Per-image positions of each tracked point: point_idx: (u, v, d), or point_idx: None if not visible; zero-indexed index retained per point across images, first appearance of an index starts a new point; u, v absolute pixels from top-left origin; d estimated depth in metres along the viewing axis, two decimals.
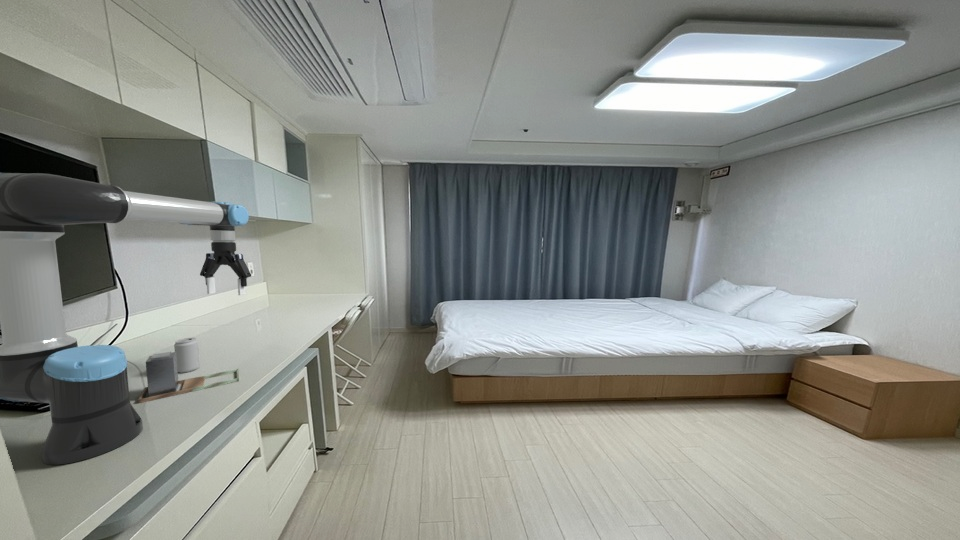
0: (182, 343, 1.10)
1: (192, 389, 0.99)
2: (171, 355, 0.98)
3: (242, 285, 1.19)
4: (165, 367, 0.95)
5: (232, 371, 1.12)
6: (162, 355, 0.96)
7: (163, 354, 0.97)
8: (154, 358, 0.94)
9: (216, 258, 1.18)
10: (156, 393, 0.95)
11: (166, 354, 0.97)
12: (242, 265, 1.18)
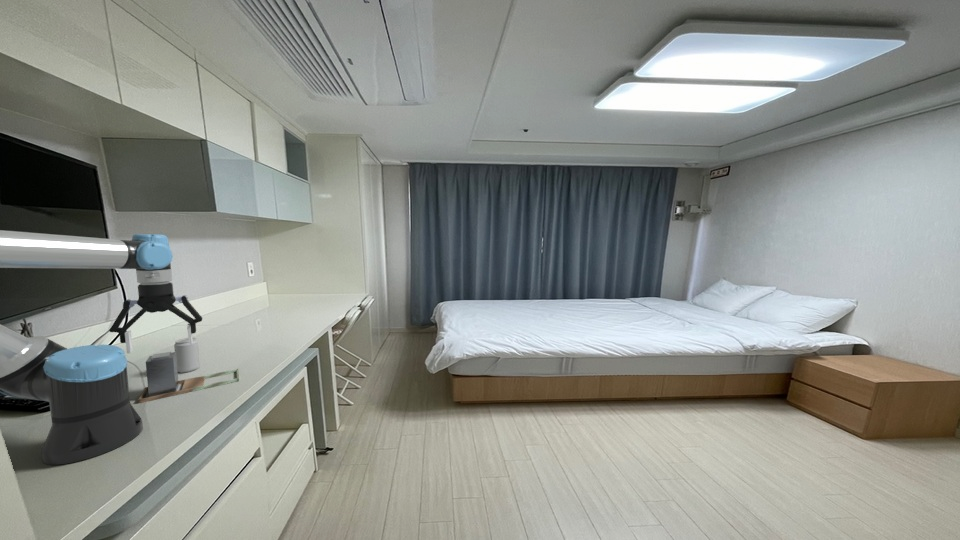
0: (182, 343, 1.10)
1: (192, 389, 0.99)
2: (171, 355, 0.98)
3: None
4: (165, 367, 0.95)
5: (232, 371, 1.12)
6: (162, 355, 0.96)
7: (163, 354, 0.97)
8: (154, 358, 0.94)
9: None
10: (156, 393, 0.95)
11: (166, 354, 0.97)
12: None
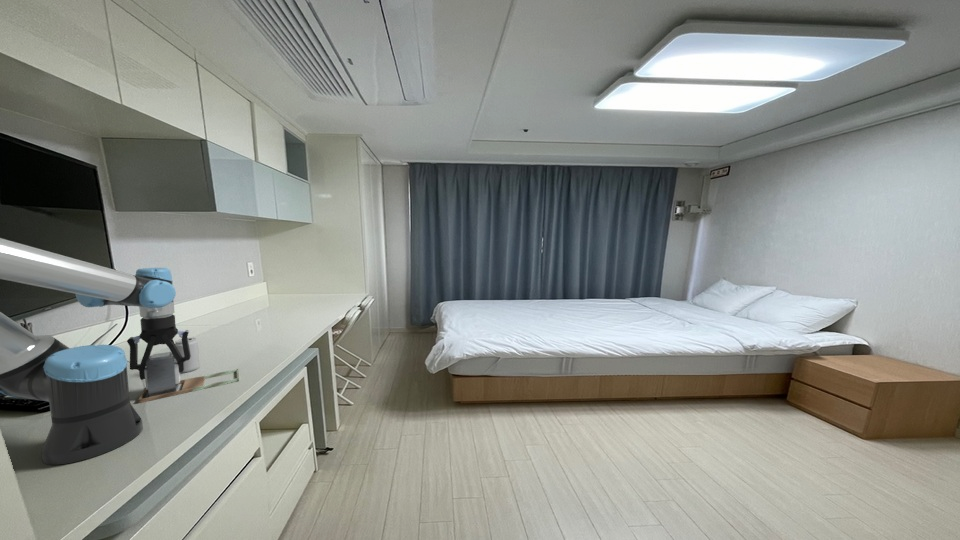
0: None
1: (192, 389, 0.99)
2: (171, 355, 0.98)
3: None
4: (165, 367, 0.95)
5: (232, 371, 1.12)
6: (162, 355, 0.96)
7: (163, 354, 0.97)
8: (154, 358, 0.94)
9: None
10: (156, 393, 0.95)
11: (166, 354, 0.97)
12: None
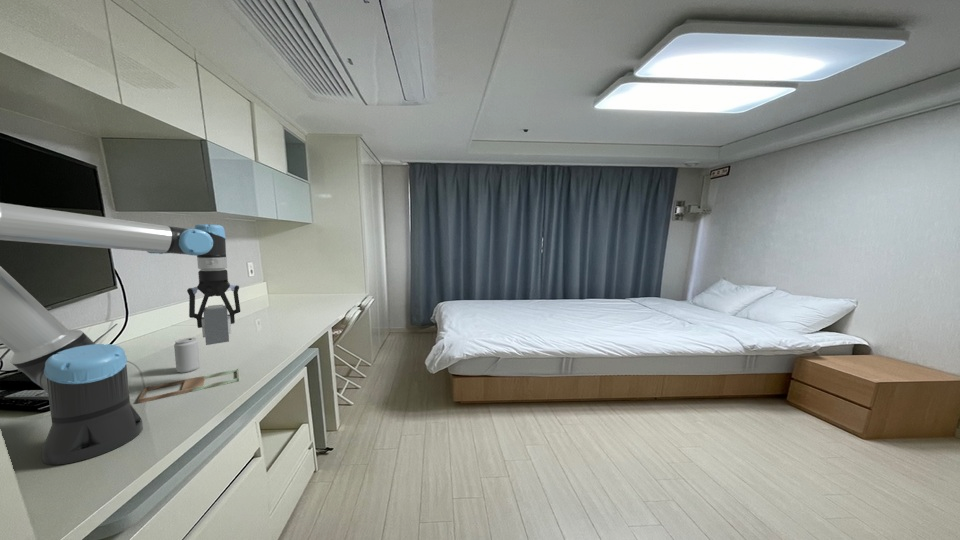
0: (182, 343, 1.10)
1: (192, 389, 0.99)
2: (224, 307, 1.05)
3: None
4: (220, 317, 1.03)
5: (232, 371, 1.12)
6: (216, 306, 1.04)
7: (217, 305, 1.05)
8: (210, 308, 1.02)
9: None
10: (212, 341, 1.02)
11: (220, 305, 1.05)
12: None
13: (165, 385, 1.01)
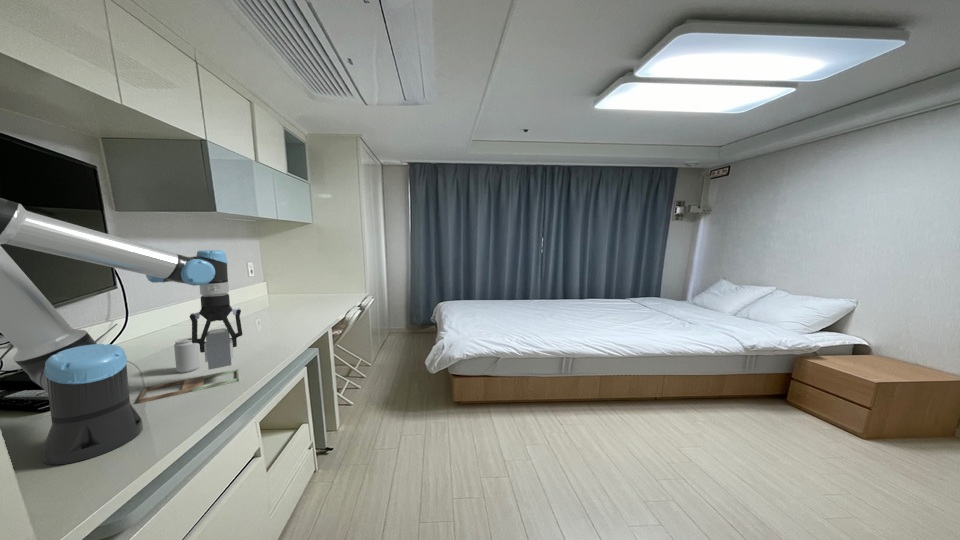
0: (182, 343, 1.10)
1: (192, 389, 0.99)
2: (226, 331, 1.06)
3: None
4: (222, 341, 1.04)
5: (232, 371, 1.12)
6: (219, 330, 1.05)
7: (219, 330, 1.06)
8: (212, 333, 1.03)
9: None
10: (214, 365, 1.03)
11: (222, 330, 1.06)
12: None
13: (165, 385, 1.01)
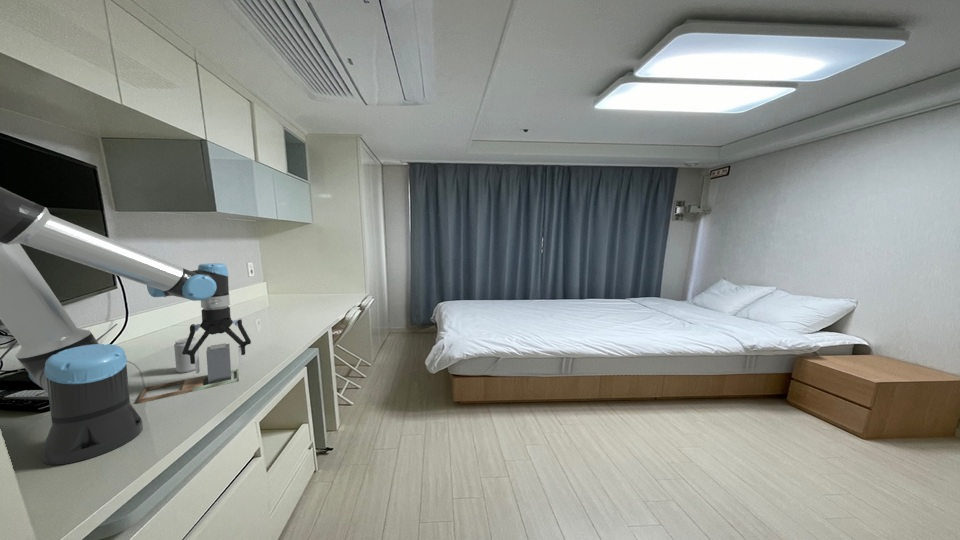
0: (182, 343, 1.10)
1: (192, 389, 0.99)
2: (226, 346, 1.07)
3: None
4: (223, 357, 1.04)
5: (232, 371, 1.12)
6: (219, 346, 1.05)
7: (219, 345, 1.06)
8: (213, 349, 1.03)
9: None
10: (214, 381, 1.04)
11: (222, 345, 1.06)
12: None
13: (165, 385, 1.01)
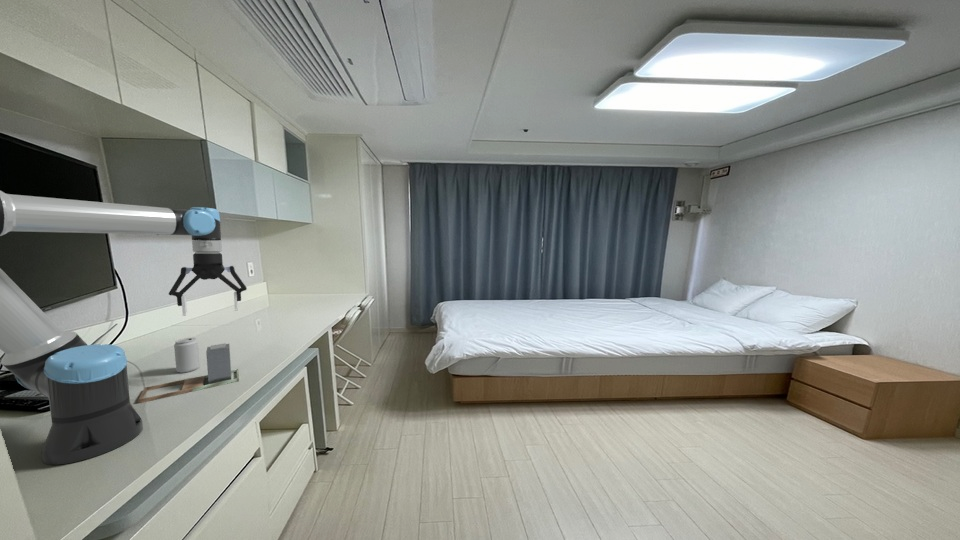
0: (182, 343, 1.10)
1: (192, 389, 0.99)
2: (226, 346, 1.07)
3: None
4: (223, 357, 1.04)
5: (232, 371, 1.12)
6: (219, 346, 1.05)
7: (219, 345, 1.06)
8: (213, 349, 1.03)
9: None
10: (214, 381, 1.04)
11: (222, 345, 1.06)
12: (177, 280, 1.00)
13: (165, 385, 1.01)
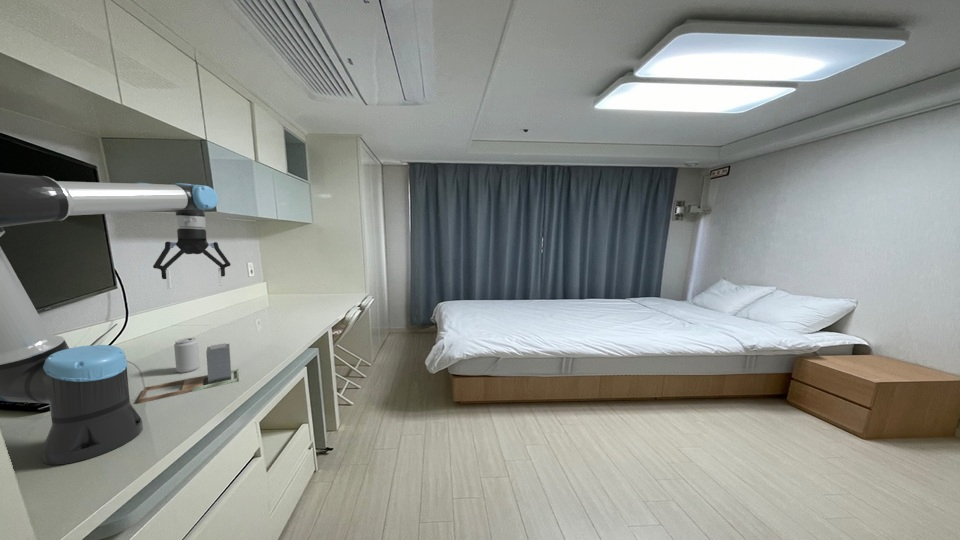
0: (182, 343, 1.10)
1: (192, 389, 0.99)
2: (226, 346, 1.07)
3: None
4: (223, 357, 1.04)
5: (232, 371, 1.12)
6: (219, 346, 1.05)
7: (219, 345, 1.06)
8: (213, 349, 1.03)
9: None
10: (214, 381, 1.04)
11: (222, 345, 1.06)
12: (161, 254, 1.03)
13: (165, 385, 1.01)
